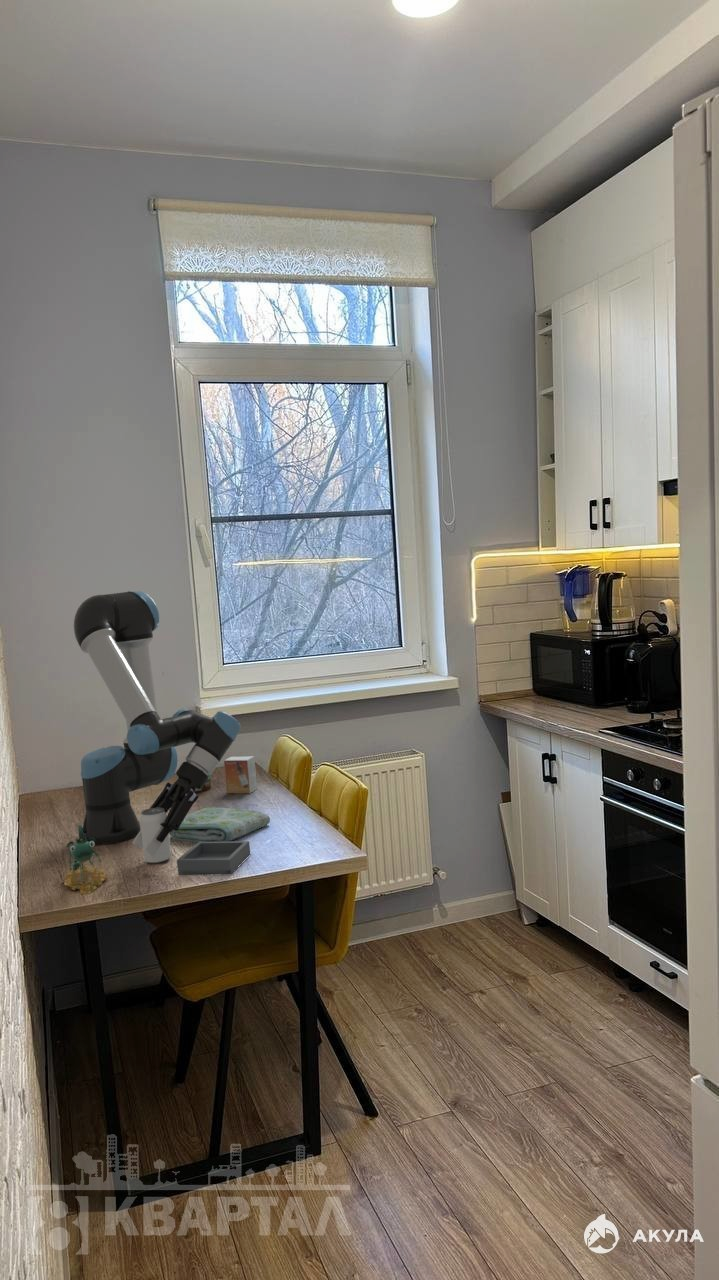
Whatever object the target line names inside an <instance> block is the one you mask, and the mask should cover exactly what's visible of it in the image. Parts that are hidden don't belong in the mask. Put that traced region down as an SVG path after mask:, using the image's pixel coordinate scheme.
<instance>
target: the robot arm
mask: <svg viewBox="0 0 719 1280" xmlns="http://www.w3.org/2000/svg"><path fill="white" fill-rule="evenodd" d="M159 623H160V613H159V609H158V606H157V604H156V602H155V600H154V599H153V598H152V597H151V596H150V595H149V594H148V593H146V592H144V591H142V590H141V591H139V590H138V591H137V590H136V591H131V590H130V591H129V590H128V591H123V592H114V593H106V594H97V595H92V596H90V597H88V598H86V599H85V600H84V601H83V602H82V603H81V604H80V605H79V607H78V608H77V609H76V613H75V615H74V619H73V632H74V636H75V639H76V642H77V645H78V646H79V647H80V650H82V652H83V653H86V654H88V656H89V657H90V659H91V660H92V663H93V665H94V667H95V668H96V669H97V671H98V673H99V675H100V677H101V678H102V680H103V682H104V683H105V686H106V687H107V689H108V691H109V693H110V695H111V696H112V698H113V699H114V702H115V703H116V705H117V706H118V708H119V710H120V712H121V713H122V715H123V717H124V720H125V724H126V730H127V732H126V736H125V738H123V741H122V742H123V746H121V745H111V746H107V747H102V748H98V749H95V750H92V751H90V752H88V753H87V754H85V755H84V756H83V757H82V758H81V761H80V776H81V782H82V788H83V797H84V805H85V815H84V818H83V819H84V820H83V825H82V828H83V839H84V838H85V837H86V839H87V841H88V842H89V841H92V839H91V840H89V838H90V837H93V838H95V840H96V841H94V840H93V841H94V842H95V845H108V844H116V843H120V842H124V841H128V840H130V839H132V838H134V837H135V838H134V839H133V840H132V842H131V844H133V845H134V846H136V847H137V848H139V849H140V850H141V849H142V850H143V844H142V835H141V825H140V821H139V820H138V817H137V815H136V813H135V811H134V810H133V809H134V808H133V807H132V805H131V798H130V797H131V795H130V792H134V791H137V790H140V789H144V788H148V787H151V786H157V785H159V784H161V783H164V782H167V781H169V780H170V779H171V778H172V777H173V776H174V774H176V776H177V777H178V779H176V780H175V781H174V782H173V783H170V782H167V783H166V784H165V786H164V788H163V790H162V791H161V792H160V794H159V795H158V797H157V798H156V799H155V800H154V802H153V803H152V805H151V806H150V807H149V809H150V808H164V809H165V810H164V811H165V813H166V814H167V817H166V819H165V822H164V823H161V824H160V825H161V826H159V828H158V829H157V831H156V832H155V834H154V835H153V837H152V838H151V840H150V841H149V843H148V844H147V846H146V847H145V850H146V851H148V852H149V853H150V854H152V855H155V853H156V852H157V850H158V849H159V847H160V846H161V844H162V843H163V841H164V840H165V838H166V837H167V835H168V834H169V832H172V831H173V830H175V831H177V830H178V828H179V827H180V825H181V823H182V822H183V820H184V818H185V817H186V815H188V814H189V811H190V810H191V808H192V807H193V805H194V804H195V803H196V801H197V800H198V799H199V795H198V793H196V794H195V793H194V792H195V789H196V788H197V789H202V787H203V786H204V784H205V783H206V781H207V780H208V776H207V775H212V773H214V770H217V766H218V764H219V763H220V762H221V760H222V759H223V757H224V756H225V754H226V753H227V751H228V750H229V749H230V747H231V745H232V744H233V742H234V741H235V740H236V738H237V736H238V735H239V733H240V731H241V729H242V726H241V722H239V721H238V720H237V719H236V718H235V717H234V716H232V714H231V715H230V714H229V713H227V712H226V711H222V710H219V711H216V713H215V715H214V714H213V716H212V717H210V716H208V715H206V714H203V713H200V712H198V711H196V710H193V709H188V708H181V709H178V711H176V712H175V713H173V715H172V716H170V717H165V718H161V717H160V715H159V714H158V710H157V703H156V696H155V695H156V693H155V688H154V687H155V686H154V680H153V679H154V678H153V671H152V670H153V669H152V663H151V656H150V649H149V644H150V643H151V641H152V640H153V639H154V636H153V635H154V634H153V632H154V631H155V630H157V628H158V627H159ZM191 743H193V744H194V745H193V746H192V747H191V749H190V751H189V752H188V754H187V755H186V757H185V761H183V762H182V763H181V765H180V766H179V767H178V761H179V760H178V758H179V757H178V752H177V748H176V747H178V746H182V745H187V744H191ZM177 767H178V769H177ZM162 826H163V827H162ZM169 835H170V834H169Z"/></svg>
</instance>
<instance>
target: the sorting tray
mask: <svg viewBox="0 0 719 1280" xmlns="http://www.w3.org/2000/svg"><path fill="white" fill-rule="evenodd" d="M249 855H250V856H251V848H250V841H249V840H247V841H246V840H244V841H243V840H241V841H239V840H237V841H235V840H234V841H233V840H232V841H224V842H196V843H195V844H194V845H193V846H192V847H191V848H190V849H188V850H187V851H186V852H185V853H184V854H183V855H181V856H180V857H179V858H177V859H176V865H177V875H178V876H200V875H201V876H211V875H210V874H231V875H233V873H234V872H235V871H237V869H238V868H239V867H240V866H241V865H242V864H243V863H244V862H245V861H246V860H247V859H248V858H249V857H250V856H249ZM248 856H249V857H248ZM247 857H248V858H247ZM246 858H247V859H246ZM245 859H246V860H245ZM244 860H245V861H244ZM243 861H244V862H243ZM242 862H243V863H242ZM241 863H242V864H241ZM240 864H241V865H240ZM239 865H240V866H239ZM238 866H239V867H238ZM234 870H235V871H234ZM202 874H203V875H202ZM205 874H206V875H205ZM207 874H209V875H207Z"/></svg>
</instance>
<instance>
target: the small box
mask: <svg viewBox="0 0 719 1280" xmlns="http://www.w3.org/2000/svg"><path fill="white" fill-rule="evenodd" d="M255 760H256V759H255V756H254V755H250V756H249V755H248V756H230V757H228V758H226V759H225V760H224V761H223V763H224V764H223V765H224V775H225V776H224V777H225V786H226V787H225V788H226V794H242V793H250V794H252V793H253V792H255V791H256V790H257V789H258V785H257V784H258V783H257V771H256V762H255ZM254 790H255V791H254ZM251 792H252V793H251Z"/></svg>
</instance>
